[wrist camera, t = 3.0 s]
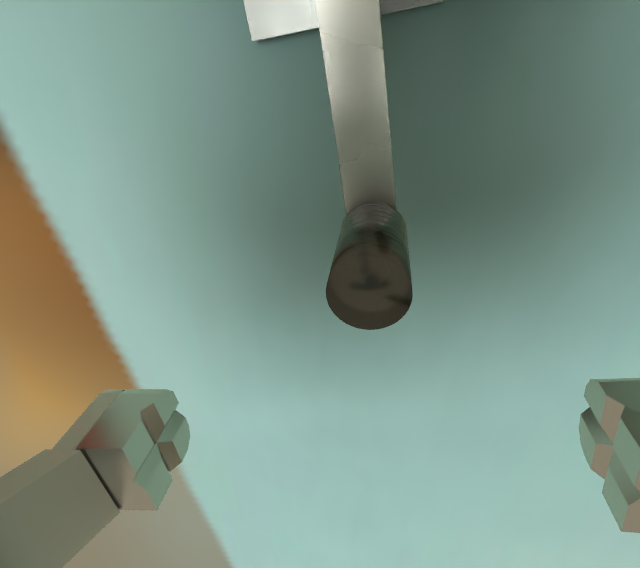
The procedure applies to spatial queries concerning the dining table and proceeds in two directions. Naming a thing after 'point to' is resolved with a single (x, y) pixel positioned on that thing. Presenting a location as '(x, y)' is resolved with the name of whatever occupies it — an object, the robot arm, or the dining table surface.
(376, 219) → the crank
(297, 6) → the crank base
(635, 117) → the dining table surface
